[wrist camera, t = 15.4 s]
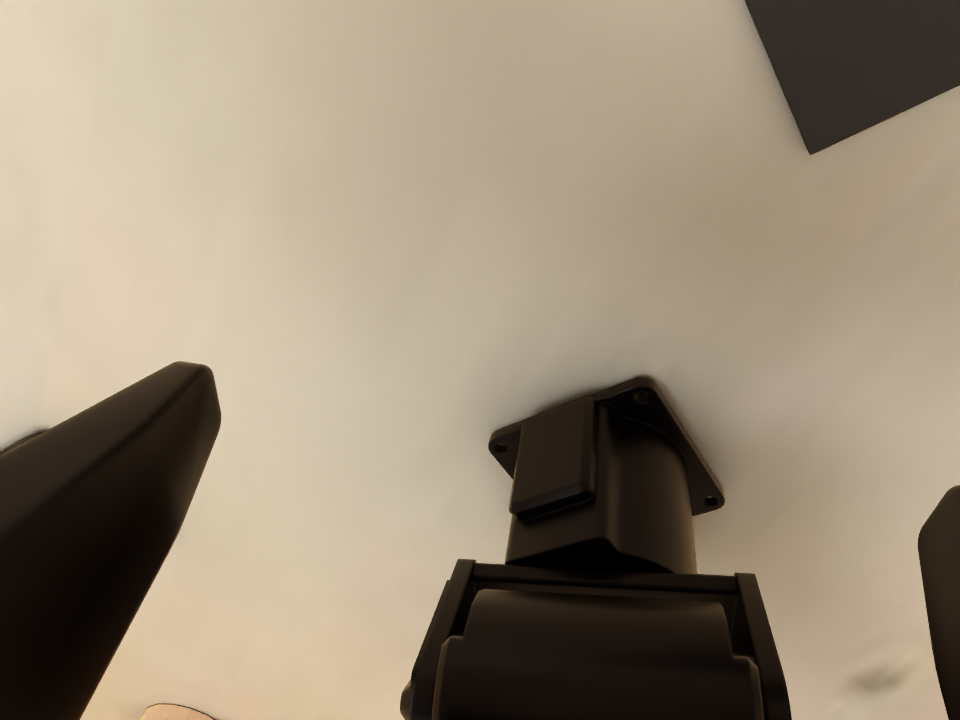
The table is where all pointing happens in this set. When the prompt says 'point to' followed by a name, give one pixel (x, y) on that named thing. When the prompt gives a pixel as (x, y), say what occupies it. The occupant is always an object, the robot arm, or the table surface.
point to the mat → (857, 59)
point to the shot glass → (172, 713)
